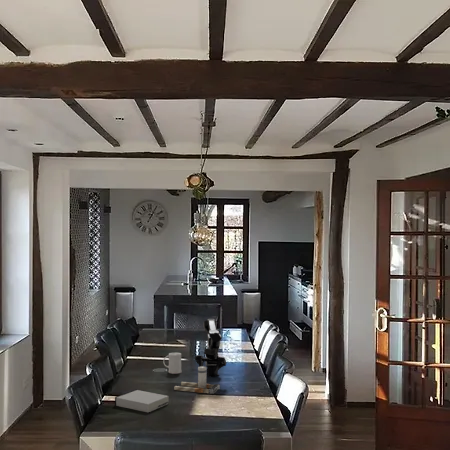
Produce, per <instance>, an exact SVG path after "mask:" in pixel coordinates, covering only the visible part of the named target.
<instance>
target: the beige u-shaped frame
mask: <svg viewBox="0 0 450 450" xmlns="http://www.w3.org/2000/svg"><path fill="white" fill-rule="evenodd" d="M220 386H221V385H220V384H218V383H215V384H211V383H206V389H204V388H198V382H188V381H181V382H180V386H179V385H178V386H177V385H175V386H174V388H173V389H174V391H181V392H182V391H183V392H191V393H202V394H215V393H216V392H217V391H219V390H220Z"/></svg>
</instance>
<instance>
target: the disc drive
mask: <svg viewBox="0 0 450 450" xmlns="http://www.w3.org/2000/svg"><path fill="white" fill-rule="evenodd" d="M169 399H170V398H169V395H166V394H159V393H155V392H149V391H145V390H144V391H143V390H139V389H133V390H131V391H127V392H126V393H123V394H120V395H117V396H115V397H114V406H116V407H121V408H127V409H131V410H133V411H134V410H135V411H139V412H145V413H149V412H150V413H151V412H153V411H155V410H157V409H159V408H162V407H164V406H167V405H169Z"/></svg>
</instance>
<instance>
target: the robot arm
mask: <svg viewBox="0 0 450 450" xmlns="http://www.w3.org/2000/svg"><path fill="white" fill-rule="evenodd" d="M202 326H203V329H204V332H205V334H206V335H207V345H208V348H204V353H203V354H204V355H205V357H203V355H201V354H199V355H198V354H196V355H195V357H194V360H195V362H196V363H197V364H198V367H202V366H203V367H204V363H205V367H206V370H207V372H206V377H210V378H213V377H218V376H220V374H219V373H218V372H219V370H220V369H221V368H224V367H226V366H227V360H226V358H225V356H224V357H223V356H220V355H219V349H220V346H221V340H223V338H222V337H223V336H222V335H221V333H220V332H219V330H217V326H218V324H217V320H216V319H214V318H207V320H205V321H203V325H202Z"/></svg>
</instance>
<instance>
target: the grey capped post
mask: <svg viewBox="0 0 450 450" xmlns="http://www.w3.org/2000/svg"><path fill="white" fill-rule="evenodd" d="M206 374H207V367H206V366H204V365H203V366H202V367H199V366H198V367H197V383H198V387H197V388H204V389H207V388H206V384H207V375H206Z"/></svg>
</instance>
